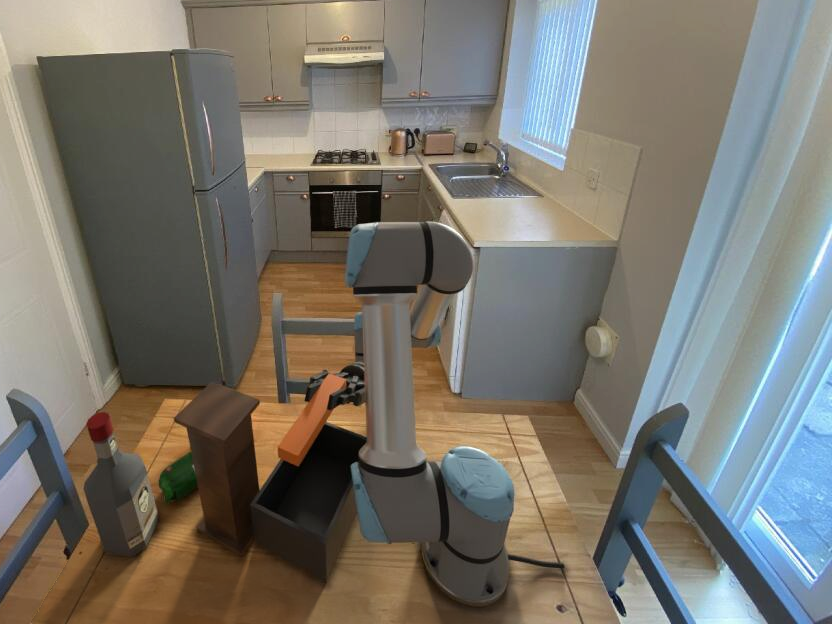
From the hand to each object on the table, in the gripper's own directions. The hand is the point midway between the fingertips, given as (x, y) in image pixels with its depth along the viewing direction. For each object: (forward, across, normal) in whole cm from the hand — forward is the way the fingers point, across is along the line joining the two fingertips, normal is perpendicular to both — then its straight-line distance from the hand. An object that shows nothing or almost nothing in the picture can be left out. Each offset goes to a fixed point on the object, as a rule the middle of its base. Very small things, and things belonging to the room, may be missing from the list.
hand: (318, 398), depth 78 cm
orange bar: (-1, 0, -4) cm, 4 cm away
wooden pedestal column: (-4, +14, -30) cm, 33 cm away
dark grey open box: (-12, 0, -25) cm, 28 cm away
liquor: (+6, +31, -36) cm, 48 cm away
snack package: (-7, +28, -28) cm, 40 cm away
